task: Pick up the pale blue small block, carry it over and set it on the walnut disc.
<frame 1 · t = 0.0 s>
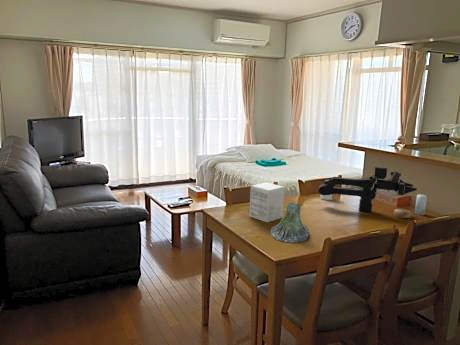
hand: (414, 187, 210), 17 cm above the table, tool horizontal, fingers open, 9 cm apart
supplement box: (265, 217, 202), on the table
pale blue small block: (419, 213, 217), on the table
medicine bottle: (326, 198, 243), on the table
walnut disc: (402, 216, 211), on the table
tree stump: (289, 235, 177), on the table
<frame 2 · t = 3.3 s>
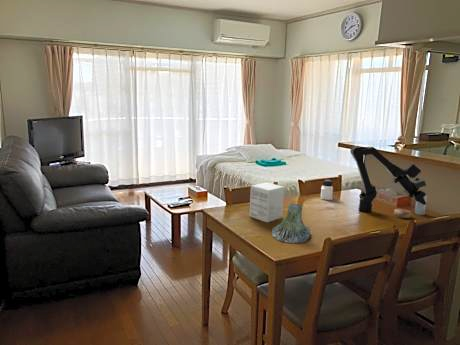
hand: (423, 203, 215), 7 cm above the table, tool tilted 45°, fingers closed on pale blue small block, 5 cm apart
pale blue small block: (419, 213, 216), on the table, touching gripper
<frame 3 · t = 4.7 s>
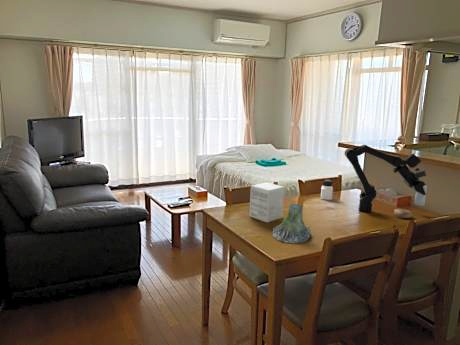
hand: (423, 193, 213), 13 cm above the table, tool tilted 45°, fingers closed on pale blue small block, 5 cm apart
pale blue small block: (419, 204, 214), point 6 cm above the table, touching gripper
when the fingers open (10 cm above the table, at t = 6.4 s): pale blue small block stays where it is, resting on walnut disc.
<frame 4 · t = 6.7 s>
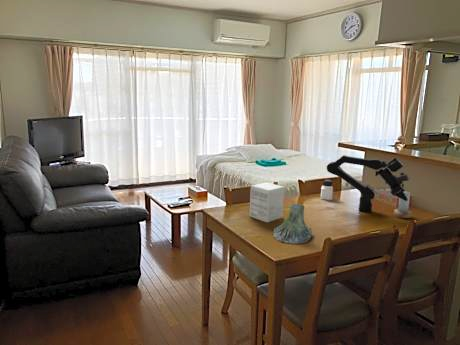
hand: (407, 198, 208), 11 cm above the table, tool tilted 45°, fingers open, 8 cm apart
pale blue small block: (402, 211, 210), point 3 cm above the table, touching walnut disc
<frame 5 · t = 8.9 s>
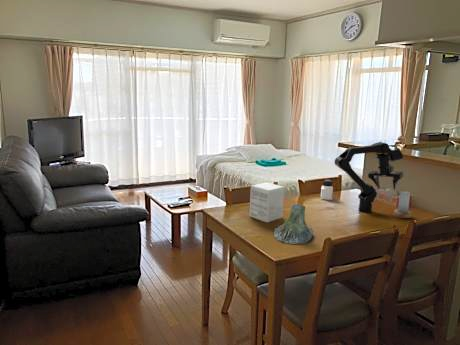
hand: (386, 188, 218), 13 cm above the table, tool pointing down, fingers open, 9 cm apart
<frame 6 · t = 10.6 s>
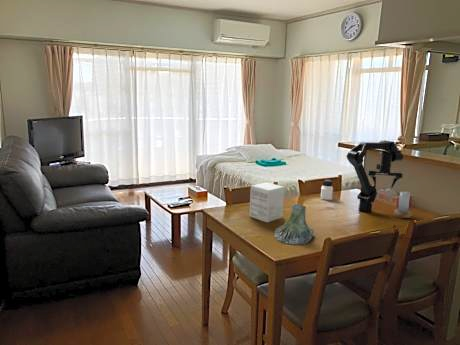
hand: (383, 187, 222), 13 cm above the table, tool pointing down, fingers open, 9 cm apart
at the end: pale blue small block inside the target area on the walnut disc (0.1 cm from its centre), point 3.0 cm above the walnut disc's base; pale blue small block tilted 0°; the gripper is holding nothing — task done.
